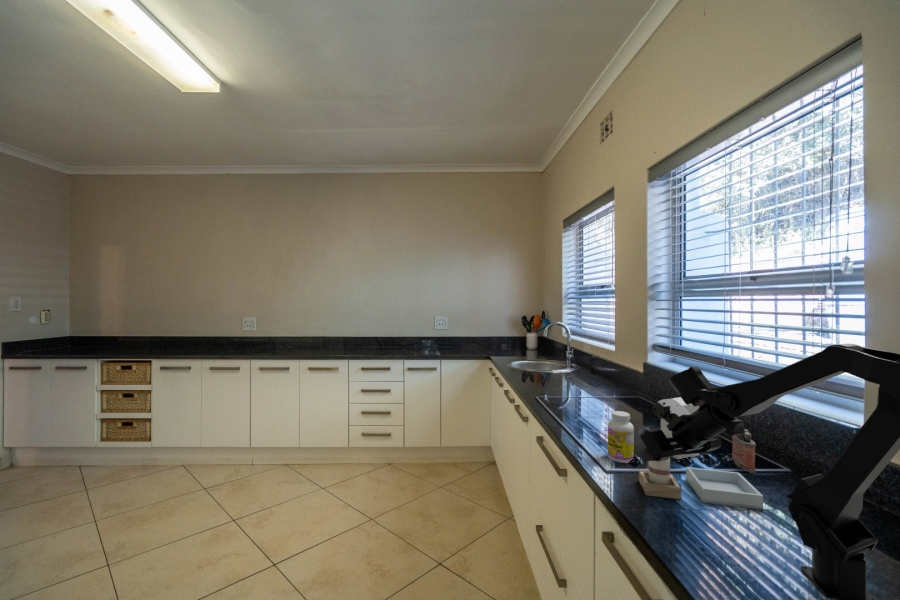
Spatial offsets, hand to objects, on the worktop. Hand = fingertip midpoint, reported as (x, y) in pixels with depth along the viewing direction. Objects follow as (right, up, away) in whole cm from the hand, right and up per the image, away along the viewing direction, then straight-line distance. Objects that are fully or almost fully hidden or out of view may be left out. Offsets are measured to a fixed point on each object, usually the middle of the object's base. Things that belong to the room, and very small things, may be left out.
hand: (658, 455), depth 89 cm
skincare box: (+17, -8, +20) cm, 27 cm away
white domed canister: (0, -8, 0) cm, 8 cm away
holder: (0, -8, 0) cm, 8 cm away
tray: (+14, -8, -2) cm, 16 cm away
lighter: (+30, -8, +12) cm, 33 cm away
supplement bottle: (-1, -8, +17) cm, 19 cm away
